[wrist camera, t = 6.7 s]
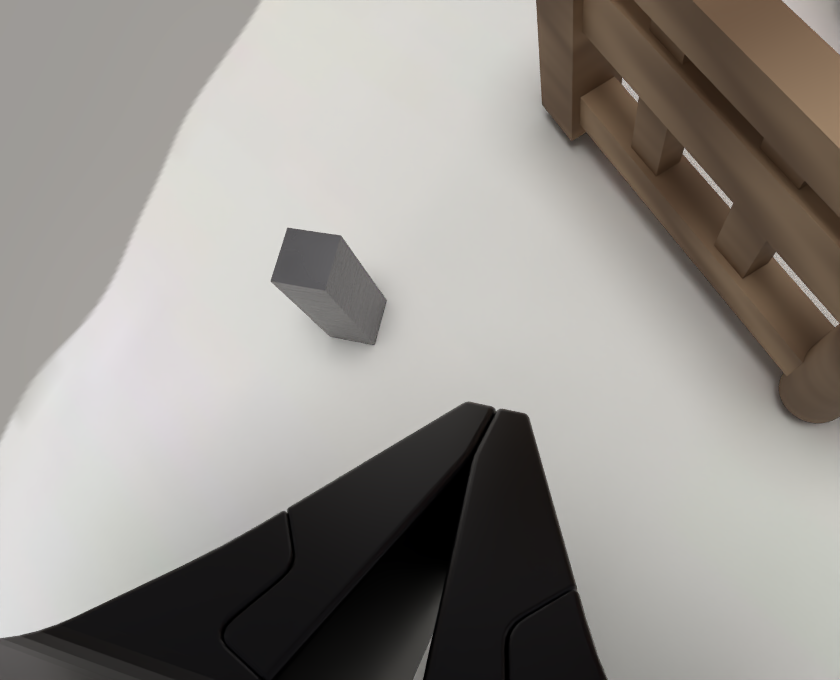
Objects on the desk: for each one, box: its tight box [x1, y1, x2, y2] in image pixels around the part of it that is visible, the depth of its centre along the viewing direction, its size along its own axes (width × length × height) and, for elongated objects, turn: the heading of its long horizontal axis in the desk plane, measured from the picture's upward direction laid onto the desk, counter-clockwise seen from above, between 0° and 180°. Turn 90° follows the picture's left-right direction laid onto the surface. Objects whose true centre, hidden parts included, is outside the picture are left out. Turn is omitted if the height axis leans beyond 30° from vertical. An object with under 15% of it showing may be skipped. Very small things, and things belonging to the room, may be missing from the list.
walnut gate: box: [536, 0, 840, 423], centre depth 17 cm, size 13×2×9 cm, turn 30°
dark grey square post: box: [271, 228, 386, 345], centre depth 17 cm, size 2×17×9 cm, turn 76°
